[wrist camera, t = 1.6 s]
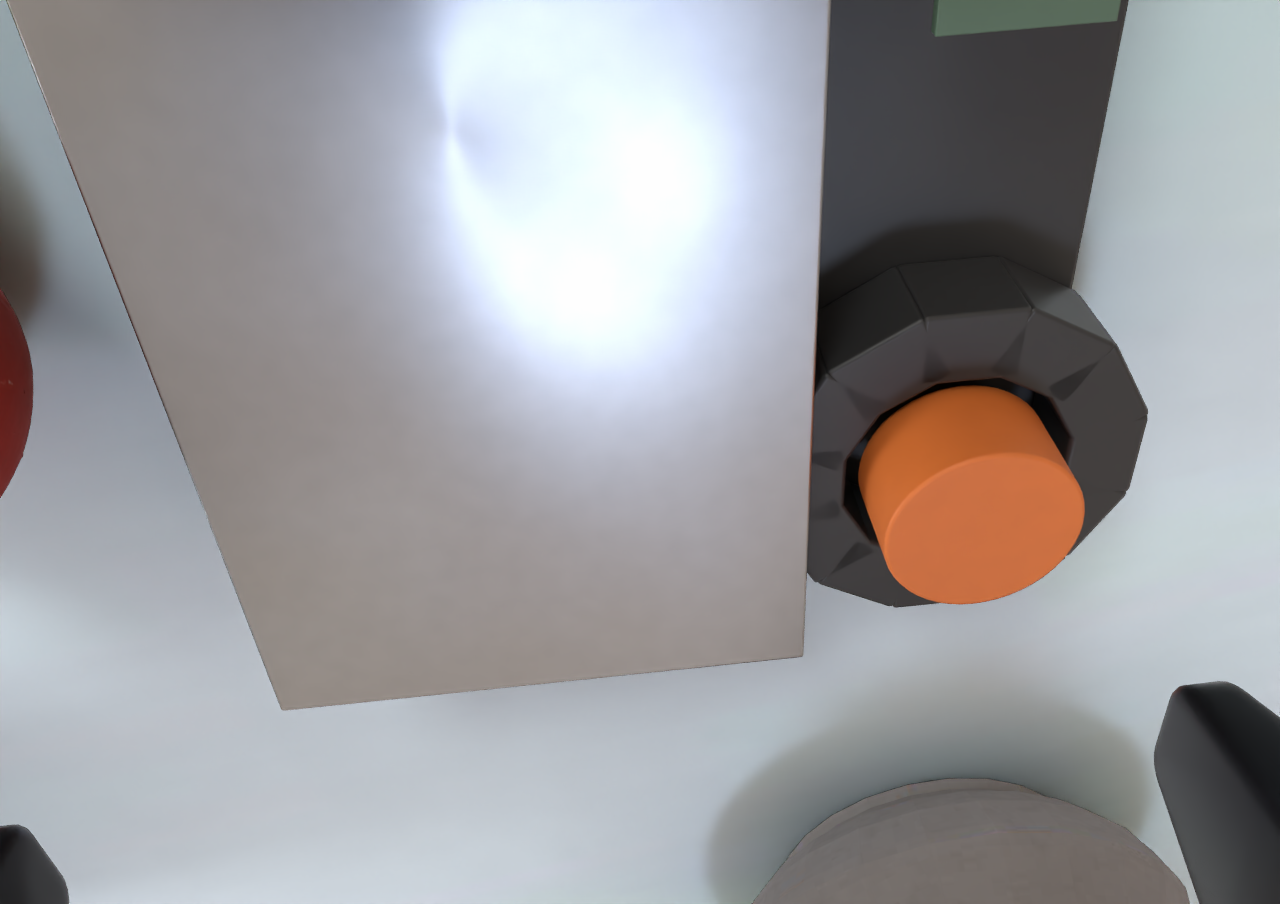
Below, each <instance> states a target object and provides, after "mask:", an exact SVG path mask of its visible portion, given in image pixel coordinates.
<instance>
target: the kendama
mask: <svg viewBox="0 0 1280 904" xmlns="http://www.w3.org/2000/svg"><path fill="white" fill-rule="evenodd" d="M32 408H33V370H32V364H31V358H30V353H29V349H28V345H27V342H26V339H25V336H24V333H23V331H22V328H21V325H20V323H19V321H18V318H17V316H16V314H15V312H14V310H13V308H12V307H11V305H10V303H9V301H8V300H7V298H6V296H5V294H4V293H3V291H2V290H1V289H0V498H1V496H2V495H3V493H4V491H5V490H6V488H7V486H8V485H9V483H10V481H11V479H12V477H13V475H14V473H15V471H16V468H17V466H18V464H19V462H20V460H21V458H22V457H23V451H24V448H25V445H26V441H27V437H28V433H29V429H30V424H31V415H32Z"/></svg>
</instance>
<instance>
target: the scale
mask: <svg viewBox="0 0 1280 904" xmlns="http://www.w3.org/2000/svg"><path fill="white" fill-rule="evenodd" d="M933 6H934V0H831V17H830V41H829V64H828V88H827V111H826V135H825V158H824V182H823V205H822V229H821V252H820V276H819V299H818V323H817V346H816V370H815V393H814V417H813V440H812V464H811V487H810V511H809V534H808V558H807V573H808V574H809V576H810V577H811V578H812V579H813V580H814V581H815V582H818V583H820V584H821V585H825V586H828V587H831V588H834V589H837V590H840V591H843V592H846V593H850V594H853V595H856V596H859V597H862V598H865V599H868V600H871V601H874V602H878V603H881V604H884V605H887V606H892V605H893V607H906V606H916V605H926V604H935V603H940V602H935V601H931V600H927V599H925V598H922V597H920V596H917V595H915V594H914V593H912V592H910V591H909V590H907V589H906V588H905V587H903V586H902V585H901V584H900V583H899V582H898V581H897V580H896V579H895V578H894V577H893V575H892V574H891V572H890V570H889V569H888V566H887V564H886V561H885V558H884V556H883V553H882V550H881V547H880V545H879V542H878V539H877V536H876V534H875V531H874V528H873V525H872V522H871V520H870V517H869V514H868V511H867V509H866V506H865V503H864V500H863V498H862V495H861V492H860V487H859V482H858V472H859V466H860V461H861V458H862V455H863V452H864V450H865V448H866V445H867V443H868V442H869V440H870V438H871V437H872V435H873V434H874V432H875V431H876V430H877V429H878V428H879V427H880V425H881V424H882V423H883V422H884V421H885V420H886V419H887V418H889V417H890V416H891V415H892V414H893V413H895V412H896V411H897V410H899V409H900V408H901V407H903V406H904V405H906V404H908V403H909V402H911V401H913V400H915V399H917V398H919V397H921V396H923V395H926V394H929V393H931V392H934V391H937V390H941V389H945V388H949V387H956V386H966V385H979V386H988V387H994V388H998V389H1001V390H1004V391H1007V392H1009V393H1011V394H1013V395H1015V396H1017V397H1019V398H1021V399H1022V400H1023V401H1025V402H1026V403H1028V405H1029V406H1030V407H1031V408H1032V409H1033V410H1034V411H1035V412H1036V414H1037V415H1038V417H1039V418H1040V420H1041V421H1042V423H1043V425H1044V427H1045V428H1046V430H1047V432H1048V433H1049V435H1050V437H1051V438H1052V440H1053V442H1054V443H1055V445H1056V447H1057V448H1058V450H1059V452H1060V453H1061V455H1062V457H1063V458H1064V460H1065V462H1066V463H1067V465H1068V467H1069V469H1070V470H1071V472H1072V474H1073V475H1074V477H1075V479H1076V480H1077V482H1078V484H1079V486H1080V488H1081V490H1082V493H1083V498H1084V506H1085V514H1084V520H1083V525H1082V528H1081V531H1080V534H1079V536H1078V538H1077V540H1076V542H1075V544H1074V545H1073V547H1072V548H1071V550H1070V551H1069V553H1068V554H1067V555H1069V554H1070V553H1071V552H1072V551H1073V550H1074V549H1075V548H1076V547H1077V546H1078V545H1079V544H1080V543H1081V542H1082V541H1083V540H1084V539H1085V537H1086V536H1087V535H1088V534H1089V533H1090V532H1091V531H1092V530H1093V529H1094V528H1095V527H1096V526H1097V525H1098V524H1099V523H1100V522H1101V520H1102V519H1103V518H1104V517H1105V516H1106V515H1107V514H1108V513H1109V512H1110V511H1111V510H1112V509H1113V508H1114V507H1115V506H1116V505H1117V503H1118V502H1119V501H1120V500H1121V499H1122V498H1123V497H1124V496H1125V494H1126V491H1127V490H1128V489H1129V487H1130V483H1131V479H1132V476H1133V472H1134V468H1135V464H1136V461H1137V457H1138V453H1139V449H1140V445H1141V442H1142V438H1143V434H1144V430H1145V427H1146V423H1147V414H1148V409H1147V407H1146V405H1145V403H1144V400H1143V398H1142V396H1141V394H1140V392H1139V390H1138V388H1137V386H1136V383H1135V381H1134V379H1133V377H1132V375H1131V373H1130V371H1129V369H1128V367H1127V364H1126V362H1125V360H1124V358H1123V356H1122V354H1121V352H1120V350H1119V348H1118V346H1117V344H1116V343H1115V342H1114V340H1113V339H1112V338H1111V336H1110V335H1109V334H1108V332H1107V331H1106V330H1105V328H1104V327H1103V326H1102V324H1101V323H1100V322H1099V320H1098V319H1097V318H1096V316H1095V315H1094V314H1093V312H1092V311H1091V310H1090V308H1089V307H1088V305H1087V304H1086V303H1085V301H1084V300H1083V299H1082V297H1081V296H1080V295H1078V294H1077V293H1076V291H1074V290H1072V284H1073V279H1074V273H1075V268H1076V263H1077V258H1078V253H1079V248H1080V243H1081V238H1082V233H1083V228H1084V223H1085V218H1086V213H1087V208H1088V203H1089V198H1090V193H1091V188H1092V182H1093V177H1094V172H1095V167H1096V162H1097V157H1098V152H1099V147H1100V142H1101V137H1102V132H1103V127H1104V122H1105V117H1106V112H1107V107H1108V102H1109V97H1110V91H1111V86H1112V81H1113V76H1114V71H1115V66H1116V61H1117V56H1118V51H1119V46H1120V41H1121V36H1122V31H1123V26H1124V21H1125V16H1126V11H1127V6H1128V0H1121V3H1120V8H1119V13H1118V18H1117V21H1111V22H1100V23H1088V24H1077V25H1066V26H1054V27H1043V28H1032V29H1020V30H1009V31H998V32H986V33H975V34H964V35H952V36H941V37H935V36H934V34H933V33H932V32H931V27H932V17H933ZM1067 555H1066V556H1067ZM1064 559H1065V557H1064Z"/></svg>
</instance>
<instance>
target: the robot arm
mask: <svg viewBox="0 0 1280 904" xmlns="http://www.w3.org/2000/svg"><path fill="white" fill-rule="evenodd" d="M1154 765H1155V771H1156V776H1157V780H1158V783H1159V786H1160V789H1161V792H1162V795H1163V798H1164V801H1165V804H1166V806H1167V809H1168V812H1169V815H1170V818H1171V821H1172V824H1173V827H1174V830H1175V833H1176V836H1177V839H1178V842H1179V845H1180V848H1181V851H1182V854H1183V857H1184V860H1185V863H1186V865H1187V868H1188V871H1189V874H1190V877H1191V880H1192V883H1193V886H1194V889H1195V892H1196V895H1197V898H1198V901H1199V904H1280V717H1278V716H1277V715H1276V714H1274V713H1273V712H1272V711H1271V710H1269V709H1268V708H1267V707H1265V706H1264V705H1263V704H1261V703H1260V702H1259V701H1257V700H1256V699H1255V698H1253V697H1252V696H1251V695H1249V694H1248V693H1247V692H1245V691H1244V690H1243V689H1241V688H1240V687H1238V686H1236V685H1234V684H1232V683H1229V682H1223V681H1217V682H1208V683H1200V684H1192V685H1184V686H1180V687H1179V688H1177V689H1176V690H1175V691H1174V692H1173V693H1172V695H1171V698H1170V701H1169V704H1168V707H1167V710H1166V713H1165V717H1164V720H1163V723H1162V726H1161V730H1160V733H1159V736H1158V739H1157V743H1156V746H1155V751H1154ZM0 904H69V895H68V889H67V886H66V883H65V880H64V878H63V876H62V875H61V873H60V872H59V871H58V869H57V868H56V866H55V865H54V864H53V862H52V861H51V859H50V858H49V857H48V855H47V854H46V852H45V851H44V850H43V848H42V847H41V846H40V844H39V843H38V841H37V840H36V839H35V837H34V836H33V834H32V833H31V832H30V831H29V830H28V829H27V828H25V827H23V826H20V825H7V826H0Z"/></svg>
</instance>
